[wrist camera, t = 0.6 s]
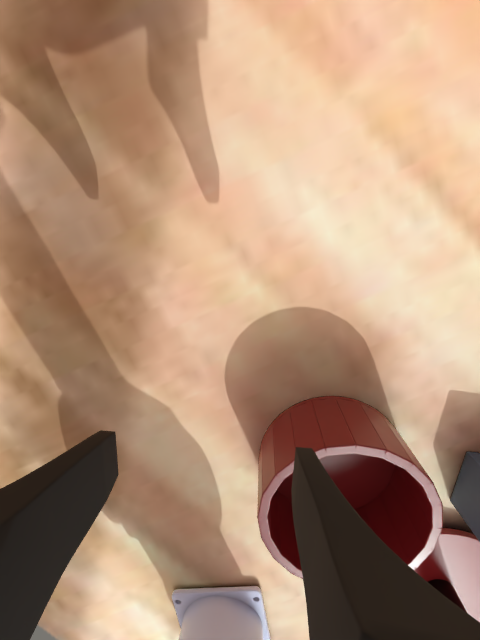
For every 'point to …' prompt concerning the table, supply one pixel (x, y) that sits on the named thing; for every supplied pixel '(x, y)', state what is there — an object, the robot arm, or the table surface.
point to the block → (469, 492)
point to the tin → (348, 478)
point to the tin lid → (455, 569)
